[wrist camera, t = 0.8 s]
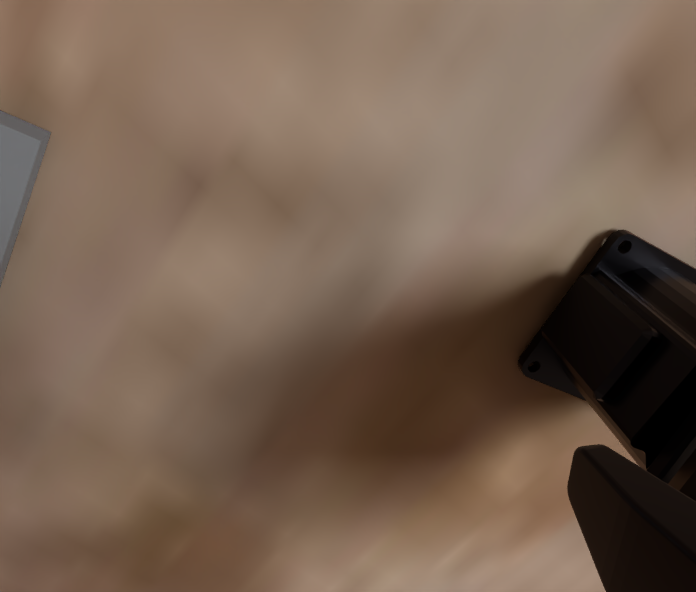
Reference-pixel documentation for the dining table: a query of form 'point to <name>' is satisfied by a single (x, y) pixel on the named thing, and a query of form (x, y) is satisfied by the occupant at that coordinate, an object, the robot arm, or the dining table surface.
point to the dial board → (17, 176)
